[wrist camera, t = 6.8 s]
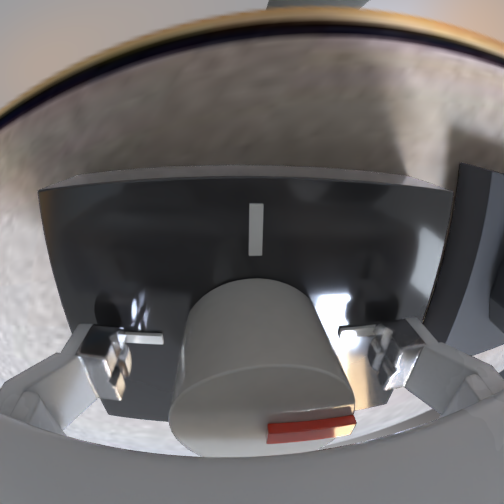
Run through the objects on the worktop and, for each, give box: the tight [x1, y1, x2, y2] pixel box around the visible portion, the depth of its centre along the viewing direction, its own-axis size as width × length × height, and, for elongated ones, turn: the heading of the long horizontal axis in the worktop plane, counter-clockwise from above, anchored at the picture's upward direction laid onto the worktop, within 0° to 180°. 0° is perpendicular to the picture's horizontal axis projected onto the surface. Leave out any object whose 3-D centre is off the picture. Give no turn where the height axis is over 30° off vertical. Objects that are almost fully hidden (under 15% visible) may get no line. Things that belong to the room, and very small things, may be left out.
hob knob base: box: [38, 165, 454, 422], centre depth 10 cm, size 10×13×3 cm
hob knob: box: [168, 278, 356, 457], centre depth 7 cm, size 4×4×4 cm
